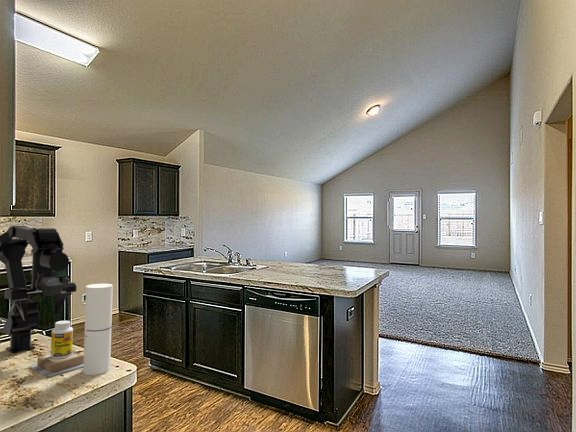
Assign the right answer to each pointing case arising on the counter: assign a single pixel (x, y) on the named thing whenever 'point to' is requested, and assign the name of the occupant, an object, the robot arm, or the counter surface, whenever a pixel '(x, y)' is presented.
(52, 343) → the supplement bottle
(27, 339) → the robot arm
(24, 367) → the counter surface
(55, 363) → the tiered square riser
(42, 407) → the counter surface
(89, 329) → the cylindrical container
